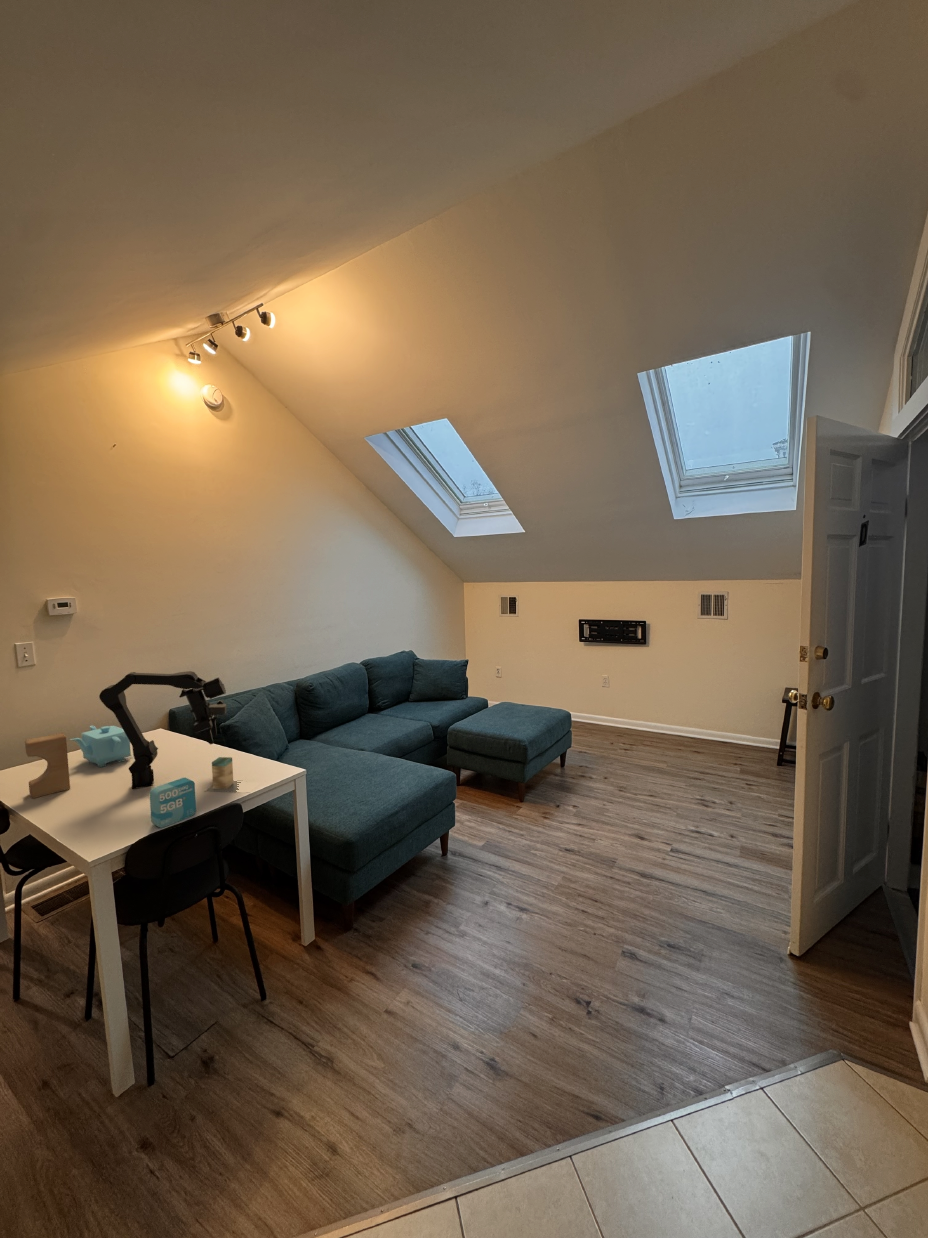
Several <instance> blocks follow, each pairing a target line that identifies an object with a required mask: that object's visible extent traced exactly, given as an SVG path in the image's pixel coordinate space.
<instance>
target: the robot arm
mask: <svg viewBox="0 0 928 1238" xmlns="http://www.w3.org/2000/svg"><path fill="white" fill-rule="evenodd" d="M132 685H143V686H144V685H150V686H153V685H154V686H170V687H174V688H178V689H182V690H181V693H180V695H178V697H179V698H183V697H186V699H187V700H186V701H188V704H189V707H190V710H189V711H190V713H192V714H193V716H194V718H195V719H194V722H195V723H194V724H193V725H192V728H191V730H192V732H193V734H195V735H198V737H200V738H202V739H203V740H204V741H205V742H207V743H208V744H209V745H213V744H214V739H213V737H217V736H218V733H217V731H218V730H217V725H216V723H217V722H216V720H217V718H218V717H219V716H225V715H226V713H227V704H226V703H225V702H224V701H223V700H218V701H217V702H216V703H214V704H211V703H210V702H209V701H207V699H209V700H211V699H214V698H217V697H221V696H222V695H225V694H227V691H226V687H225V685H224V683H223V681H222V680H221V678H220V677H215V678H213V679H210V680H208V681H206V680H204V679H203V678H201V677H199V676H198V674H197V673H196V672H195V671H191V670H190V671H179V672H175V673H158V672H157V673H156V672H155V673H154V672H153V673H149V672H136V671H131V672H129V673H127V674H126V675H125V676H124V677H123V678H122V679H121V680H119V681H118V682H116V683H115V684H110V685H108V686H107V687H105V688H104V689H102V690H101V691H100V693H99V700H100V702H101V703H102V704H103V705H104V706H105V707H106V708H107V709H108V710H109V711H111V712H112V713H113V714H114V716H115V717H116V719H117V721H118V723H119V725H120V728H122V729H123V730H124V732H125V734H126V736H127V737H128V739H129V741H130V746H131V747H132V755H133V759H134V761H133V762H132V763H131V765H130V766H129V767H128V771H129V773H130V774H131V789H133V790H134V789H140V788H145V787H149V786H150V787H151V786H153V785H154V783H153V782H154V781H155V777H154V769H153V768H152V764H153V762H155V759H156V758H157V757H158V753H159V752H158V750H159V748H158V747H157V746H156V744H155V741H154V740H153V739H151V740H150V741H149V740H148V739H146V738H145V736H144V734H143V733H142V730H141V728H140V727H139V725H138V724H137V722H136V720H135V718H134V716H133V715H132V712H131V711H130V709H129V707H128V705H127V698H126V697H127V696H126V694H125V691H126V690H128V689H129V688H130V687H131V686H132ZM206 698H207V699H206Z"/></svg>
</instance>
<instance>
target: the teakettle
mask: <svg viewBox="0 0 928 1238" xmlns="http://www.w3.org/2000/svg"><path fill="white" fill-rule="evenodd" d="M136 723H137V722H136ZM137 725H138V723H137ZM89 729H90V730H89V731H84V732H81V738H80V737H75V738H70V739H69V741H75V742H76V743H77V744H78V747H79V748H80V751H81V752H82V757H83V759H85V760H87V761H89V764H95V765H97V766H96V767H97V768H102V767H106V766H107V763H111V762H115V761H116V762H123V761H125V760H126V758H128V757H131V756H132V754H131V743H130V741H129V739H128V737H127V736H126V734H125V732H124V730H123V729H122V727H118V726H116V725H106V726H105V725H104V726H101V727H99V728H97V727H96V726H95V725H90V726H89Z"/></svg>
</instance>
